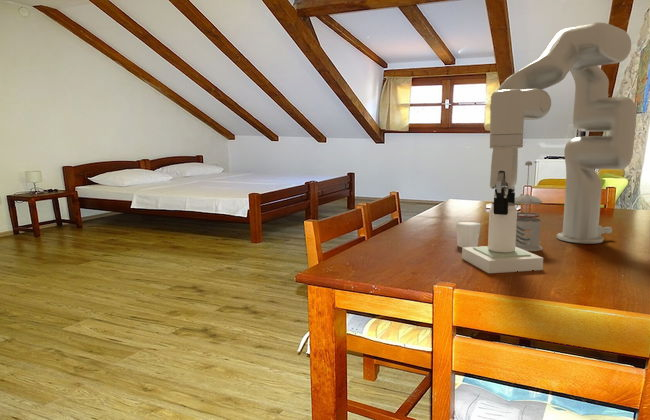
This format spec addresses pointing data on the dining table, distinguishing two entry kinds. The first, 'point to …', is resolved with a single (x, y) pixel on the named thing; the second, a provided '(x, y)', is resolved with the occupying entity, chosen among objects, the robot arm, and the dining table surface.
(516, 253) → the base
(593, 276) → the dining table surface
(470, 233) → the white cup
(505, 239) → the can
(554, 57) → the robot arm
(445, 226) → the dining table surface
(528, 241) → the french press
